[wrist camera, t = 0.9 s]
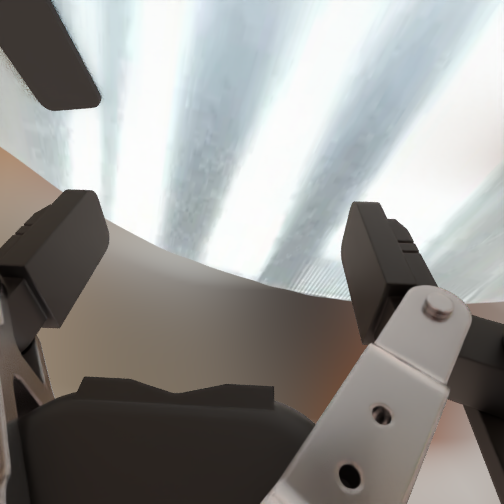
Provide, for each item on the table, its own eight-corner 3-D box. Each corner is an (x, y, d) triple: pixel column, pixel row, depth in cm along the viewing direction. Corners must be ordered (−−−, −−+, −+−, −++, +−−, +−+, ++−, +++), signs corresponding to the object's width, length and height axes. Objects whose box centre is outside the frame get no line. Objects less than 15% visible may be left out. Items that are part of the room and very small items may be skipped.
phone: (45, 112, 39) (-76, -61, 26) (48, 107, 39) (-69, -64, 27) (103, 107, 37) (4, -77, 25) (106, 102, 38) (10, -80, 26)
